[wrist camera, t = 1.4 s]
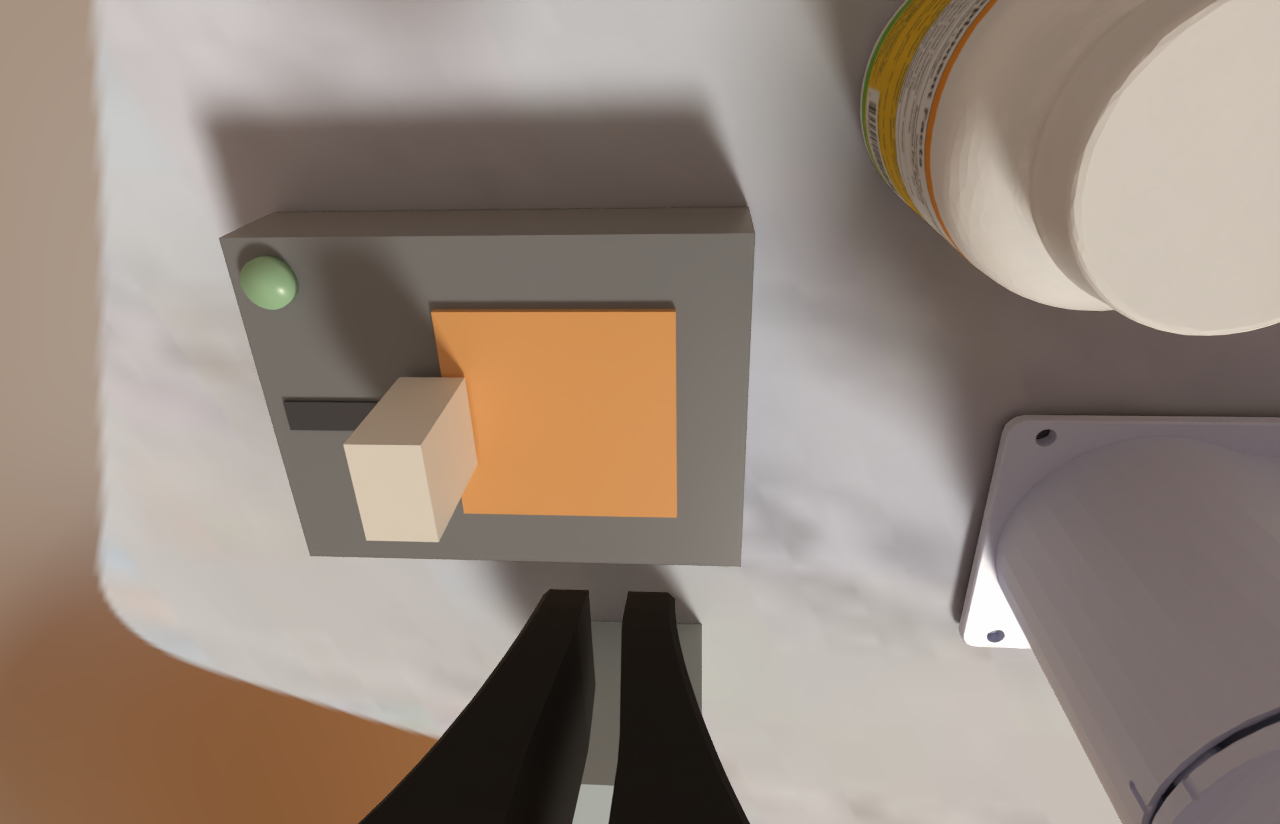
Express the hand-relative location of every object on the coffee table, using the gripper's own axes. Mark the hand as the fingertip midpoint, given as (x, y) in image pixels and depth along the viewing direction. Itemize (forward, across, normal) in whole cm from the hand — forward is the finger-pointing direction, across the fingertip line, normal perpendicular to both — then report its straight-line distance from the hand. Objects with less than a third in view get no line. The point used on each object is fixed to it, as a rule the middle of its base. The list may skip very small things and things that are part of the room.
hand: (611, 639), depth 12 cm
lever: (+7, +5, 0) cm, 9 cm away
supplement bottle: (+10, -8, -7) cm, 14 cm away
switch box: (+10, +4, 0) cm, 11 cm away
